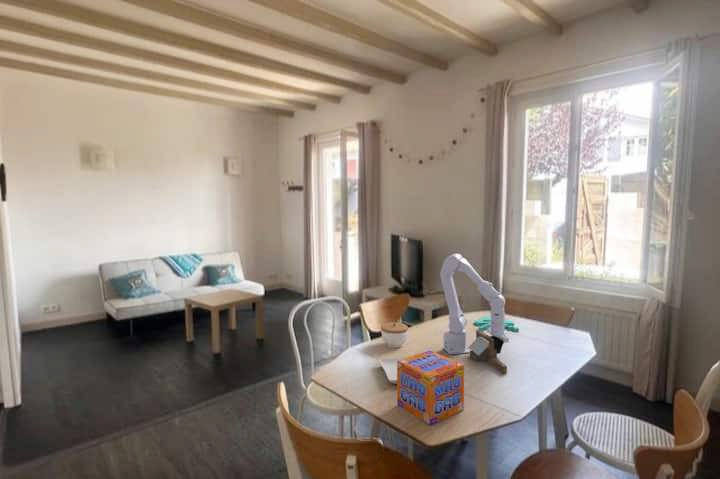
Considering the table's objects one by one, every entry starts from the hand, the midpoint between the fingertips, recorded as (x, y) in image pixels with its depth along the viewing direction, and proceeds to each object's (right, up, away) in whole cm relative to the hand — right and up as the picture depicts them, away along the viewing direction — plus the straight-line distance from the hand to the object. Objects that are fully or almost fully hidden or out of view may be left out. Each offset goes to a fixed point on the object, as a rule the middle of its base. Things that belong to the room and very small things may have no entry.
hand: (497, 353), depth 173 cm
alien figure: (+13, +2, +43) cm, 45 cm away
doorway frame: (-5, -2, -6) cm, 8 cm away
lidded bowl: (-44, -1, +15) cm, 46 cm away
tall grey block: (-6, -2, -1) cm, 7 cm away
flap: (-11, +1, -2) cm, 11 cm away
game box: (-37, -6, -42) cm, 56 cm away
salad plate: (-41, -4, -16) cm, 44 cm away
